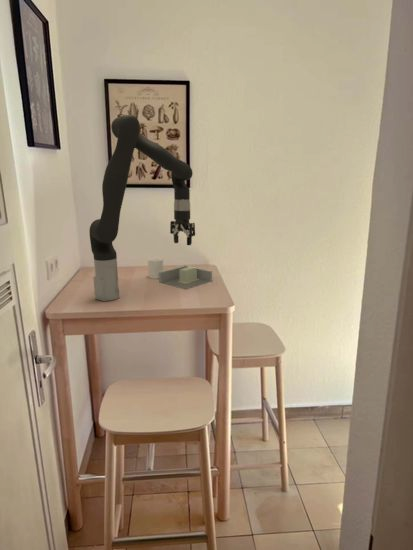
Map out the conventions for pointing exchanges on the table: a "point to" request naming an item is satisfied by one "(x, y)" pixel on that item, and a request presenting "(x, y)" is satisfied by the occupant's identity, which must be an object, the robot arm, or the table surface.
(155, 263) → the white cup
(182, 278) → the sage block
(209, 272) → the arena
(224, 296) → the table surface
